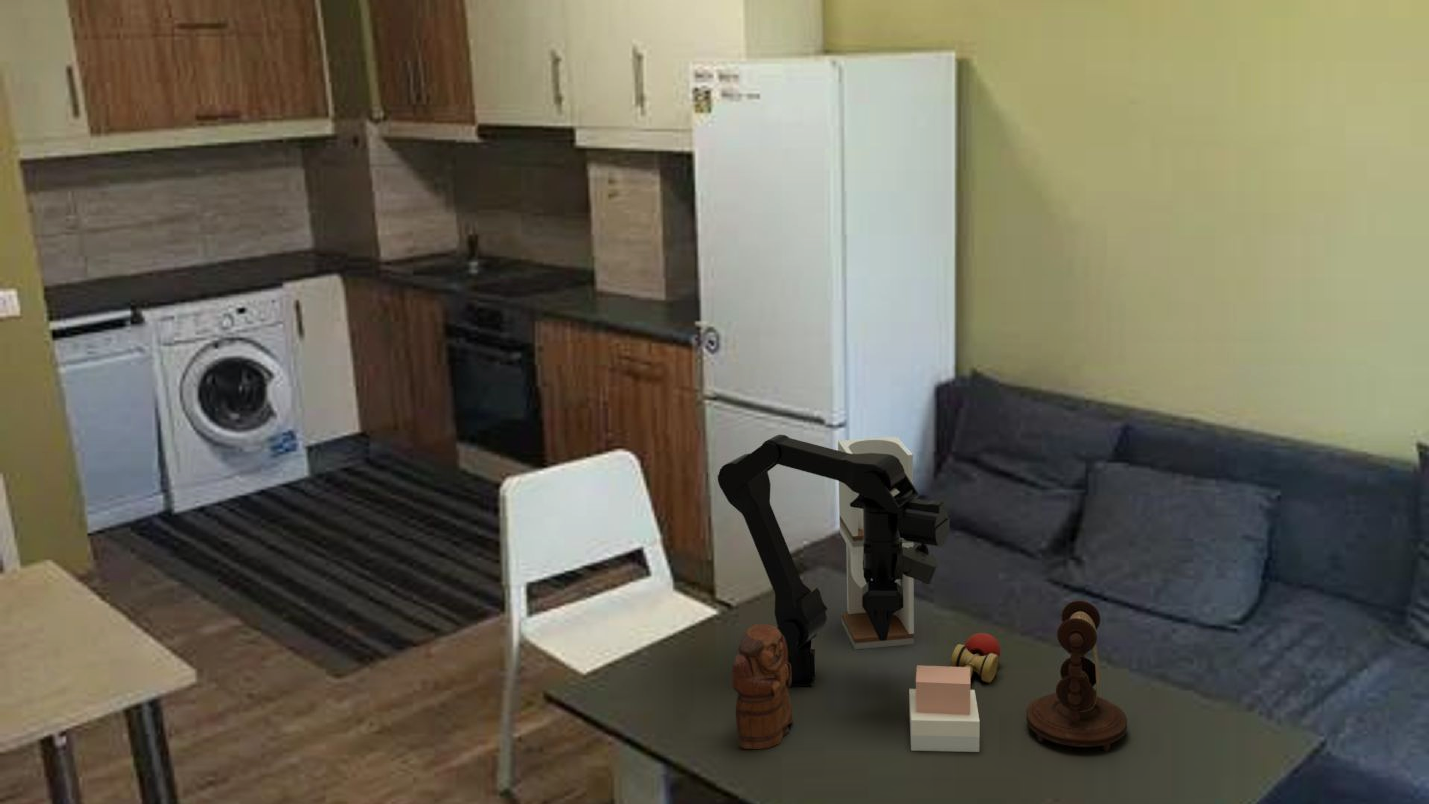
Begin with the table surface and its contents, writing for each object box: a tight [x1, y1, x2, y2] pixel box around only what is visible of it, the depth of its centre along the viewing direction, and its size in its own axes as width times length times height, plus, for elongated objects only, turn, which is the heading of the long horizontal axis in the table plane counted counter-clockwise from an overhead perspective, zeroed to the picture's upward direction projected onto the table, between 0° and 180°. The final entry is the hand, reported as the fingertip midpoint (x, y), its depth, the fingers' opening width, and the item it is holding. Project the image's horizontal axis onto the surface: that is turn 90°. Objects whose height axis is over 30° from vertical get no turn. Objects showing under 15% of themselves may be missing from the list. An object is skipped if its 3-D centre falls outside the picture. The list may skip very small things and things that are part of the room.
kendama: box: [950, 632, 1001, 683], centre depth 212 cm, size 8×6×18 cm
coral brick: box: [915, 664, 971, 715], centre depth 195 cm, size 8×6×5 cm
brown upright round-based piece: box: [1025, 600, 1128, 752], centre depth 193 cm, size 15×15×20 cm
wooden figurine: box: [732, 623, 793, 750], centre depth 197 cm, size 12×6×18 cm, turn 154°
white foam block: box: [908, 688, 981, 753], centre depth 196 cm, size 10×10×5 cm
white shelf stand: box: [837, 436, 915, 650], centre depth 228 cm, size 11×11×35 cm
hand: (882, 627), depth 205 cm, fingers open, 9 cm apart
